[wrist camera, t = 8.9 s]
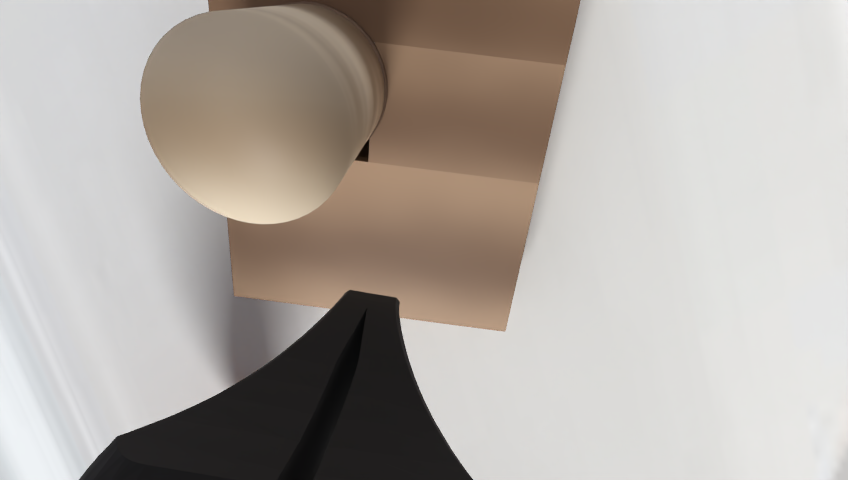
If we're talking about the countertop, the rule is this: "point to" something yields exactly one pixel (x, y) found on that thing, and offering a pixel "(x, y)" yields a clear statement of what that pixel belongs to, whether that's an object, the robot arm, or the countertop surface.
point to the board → (428, 165)
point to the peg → (262, 107)
